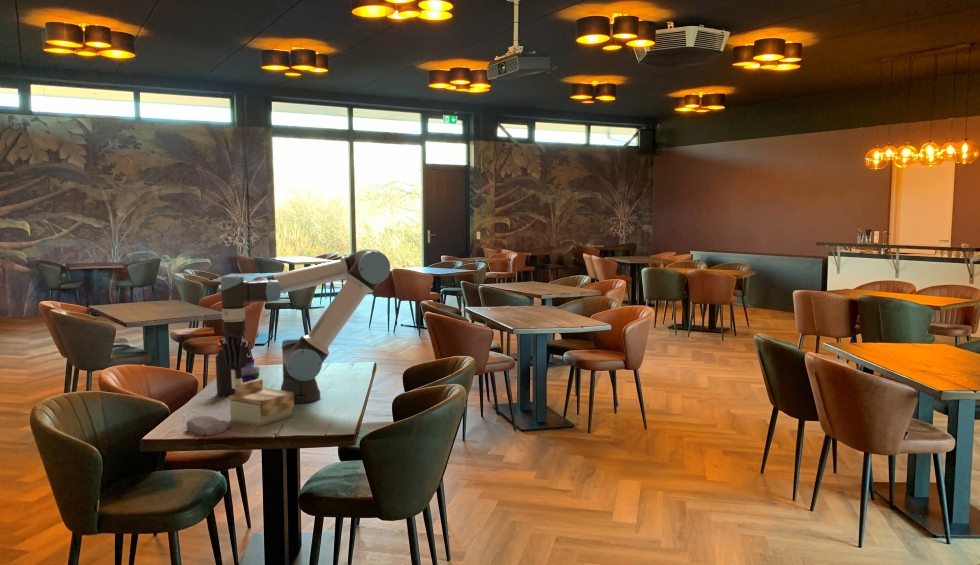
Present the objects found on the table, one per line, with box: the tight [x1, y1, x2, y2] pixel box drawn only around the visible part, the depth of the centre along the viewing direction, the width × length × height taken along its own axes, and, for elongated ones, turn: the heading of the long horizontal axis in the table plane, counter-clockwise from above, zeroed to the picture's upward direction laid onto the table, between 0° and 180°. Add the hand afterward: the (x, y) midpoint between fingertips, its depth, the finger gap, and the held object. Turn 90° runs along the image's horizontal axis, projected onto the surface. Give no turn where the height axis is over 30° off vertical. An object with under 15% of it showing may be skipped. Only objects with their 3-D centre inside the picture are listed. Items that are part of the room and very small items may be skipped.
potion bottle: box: [241, 355, 261, 383], centre depth 294 cm, size 9×9×12 cm
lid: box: [228, 378, 295, 416], centre depth 242 cm, size 14×16×8 cm
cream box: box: [229, 400, 293, 427], centre depth 243 cm, size 14×14×7 cm
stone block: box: [186, 415, 228, 437], centre depth 230 cm, size 12×5×10 cm
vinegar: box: [215, 342, 236, 397], centre depth 277 cm, size 7×7×20 cm
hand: (236, 387), depth 248 cm, fingers closed
